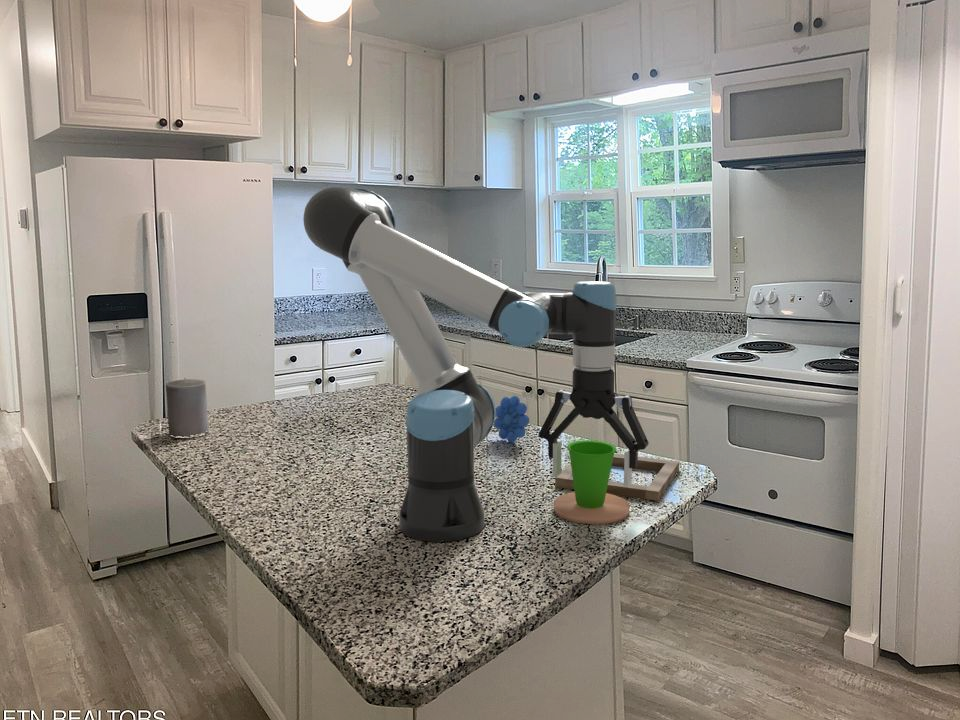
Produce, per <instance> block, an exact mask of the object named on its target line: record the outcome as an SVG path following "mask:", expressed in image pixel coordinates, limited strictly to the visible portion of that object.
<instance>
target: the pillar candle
mask: <svg viewBox="0 0 960 720" xmlns="http://www.w3.org/2000/svg"><path fill="white" fill-rule="evenodd" d="M165 391H166V395H165V396H166V405H167V406H166V407H167V424H168V435H169V434H170V435H173V436H190V435H196V434H201V433H204V432H206V431H208V432H209V418H208V416H209V415H208V402H207V401H208V400H207V387H206V380H202V379H191V378H190V379H186V377H184V379H177V380H172V381H168V382H167V383H166V384H165Z"/></svg>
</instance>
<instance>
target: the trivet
mask: <svg viewBox="0 0 960 720" xmlns="http://www.w3.org/2000/svg"><path fill="white" fill-rule="evenodd" d="M553 512H554V513H555V514H556V516H558V517H559V518H561V519H564V520H566V521H569V522H573V523H577V524H582V525H607V524H614V523H618V522H620V521H623V520H625V519H626V518H627V517H628V516H629V515H630V503H629V502H628V501H627V500H626V499H625V498H624V497H622V496H616V495H612V494H608V493H606V496H605V501H604V504H603V506H602V507H600V508H594V509H590V508H583V507H580V506H579V505H578V504H577V502H576V498H575V491H573V492H568V493H564V494H561V495H559V496H557V497H556V498H555V499H554V500H553Z"/></svg>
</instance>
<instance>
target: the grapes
mask: <svg viewBox="0 0 960 720" xmlns="http://www.w3.org/2000/svg"><path fill="white" fill-rule="evenodd" d="M499 402H500V403H499V405H497V406H495V408H496V416H495V417H496V418H495V421H494V423H493V426H494V428H495V429H496V430H499V431H498V437H499V438H500V439H501V440H507V442H509V443H512V444H513V443H516V441H517V440H518V439H522V438H524V436H525V435H526V431H527V430H526V428H527V426H529V424H530V417H529V416H528V415H527V414H526V413H527V411H528V406H527V404H526V403H525V402H521V399H520V398H519V397H518V396H517V395H512V396H511V397H510V398H509V397H508V396H505V397H503V398H501V400H500V401H499ZM525 427H526V428H525Z"/></svg>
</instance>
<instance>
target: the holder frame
mask: <svg viewBox="0 0 960 720" xmlns="http://www.w3.org/2000/svg"><path fill="white" fill-rule="evenodd" d="M624 455H625V454H620V453H619V454H618V453H614V456H613V461H612V466H613V467H618V468H619V467H621V468H624ZM612 466H611V467H612ZM635 469H636V470H644V471H645V470H646V471H653V472H658V473H657V474H656V476H655V477H654V478H653V480H651V482H650V483H649V485H643V484H636V483H631V484H630V485H629V486H628V487H624V482H621V481H614V480H609V481H608V486H607V491H606V493H608V494H612V495H616V496H618V497H621V498H624V497H625V498H629V497H631V498H630V499H636V498H640V499H639V500H643V499H647V500H646V501H650V500H655V501H654V502H657V501H658V502H659V501H660V500H661V498H662V497H663V496H664V494H665V493H666V491H667V489H668V488H669V486H670V485H671V484H672V482H673V480H674V479H675V477H676V476H677V474H678V473H679V471H680V461H678V460H671V459H669V460H668V459H662V458H652V457H643V456H638V464H637V466H636V467H635ZM635 469H634V470H635ZM677 472H678V473H677ZM676 473H677V474H676ZM675 475H676V476H675ZM673 478H674V479H673ZM671 481H672V482H671ZM669 484H670V485H669ZM554 487H555V488H559V489H566V490H573V489H574V483H573V476H572V468H571V463H570V464H569V465H568V466H566V467H565V468H564V469H563V470H561V474H560V475H559V476H557V477H554ZM667 487H668V488H667ZM666 488H667V489H666ZM665 490H666V491H665ZM663 493H664V494H663ZM661 496H662V497H661ZM632 497H633V498H632ZM659 499H660V500H659Z"/></svg>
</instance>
